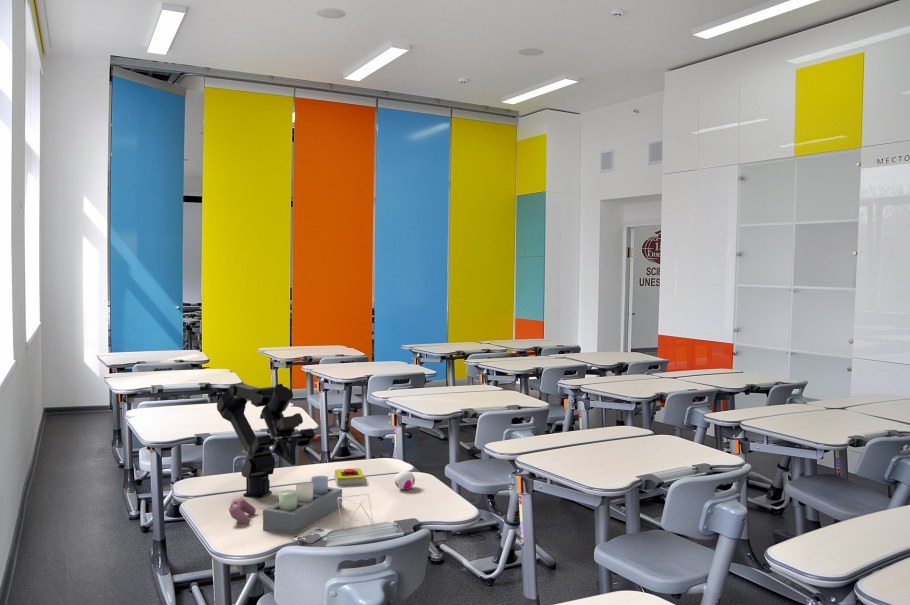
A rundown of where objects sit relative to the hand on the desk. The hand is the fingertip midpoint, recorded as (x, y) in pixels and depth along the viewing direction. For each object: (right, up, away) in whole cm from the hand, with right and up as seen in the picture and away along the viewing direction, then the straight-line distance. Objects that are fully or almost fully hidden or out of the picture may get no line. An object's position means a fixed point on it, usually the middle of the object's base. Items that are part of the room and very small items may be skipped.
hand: (293, 464), depth 202 cm
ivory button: (+4, -10, -4) cm, 12 cm away
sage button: (+1, -10, -12) cm, 16 cm away
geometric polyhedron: (+19, -15, -9) cm, 26 cm away
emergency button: (+11, -14, +34) cm, 39 cm away
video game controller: (-13, -15, -6) cm, 21 cm away
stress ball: (+31, -14, +25) cm, 42 cm away
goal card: (+9, -15, -18) cm, 25 cm away
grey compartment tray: (+4, -14, -4) cm, 15 cm away
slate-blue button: (+7, -10, +3) cm, 13 cm away
